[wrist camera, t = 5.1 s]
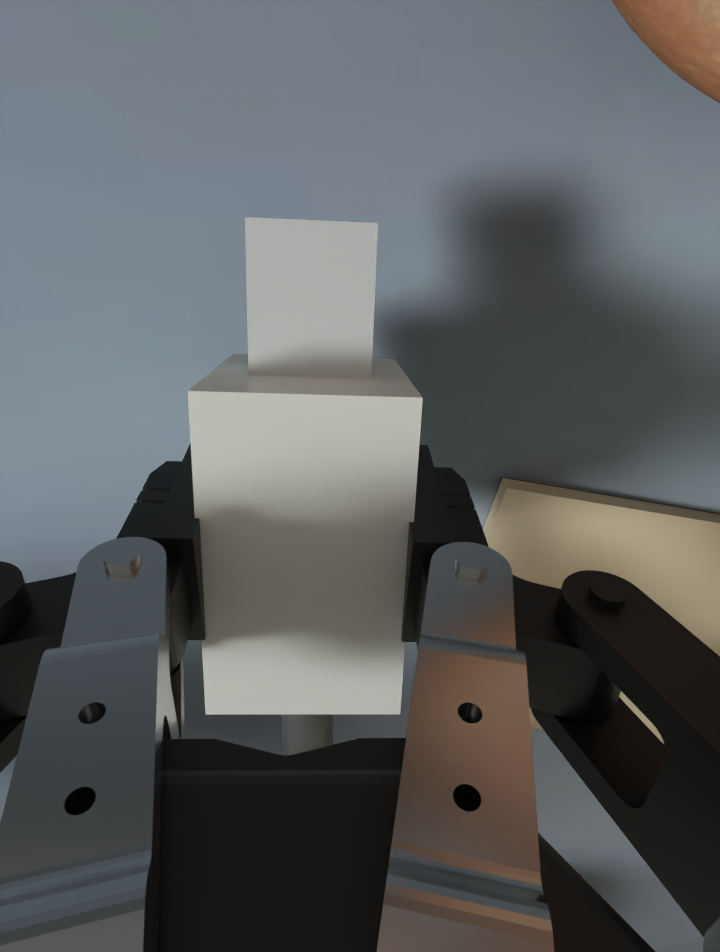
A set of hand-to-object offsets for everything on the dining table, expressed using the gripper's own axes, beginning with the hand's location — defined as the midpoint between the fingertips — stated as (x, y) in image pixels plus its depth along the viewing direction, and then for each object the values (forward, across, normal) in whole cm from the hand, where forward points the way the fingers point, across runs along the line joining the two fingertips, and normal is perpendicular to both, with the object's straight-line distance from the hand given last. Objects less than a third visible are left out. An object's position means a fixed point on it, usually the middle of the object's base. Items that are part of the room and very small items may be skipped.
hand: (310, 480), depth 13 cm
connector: (+1, 0, +1) cm, 1 cm away
